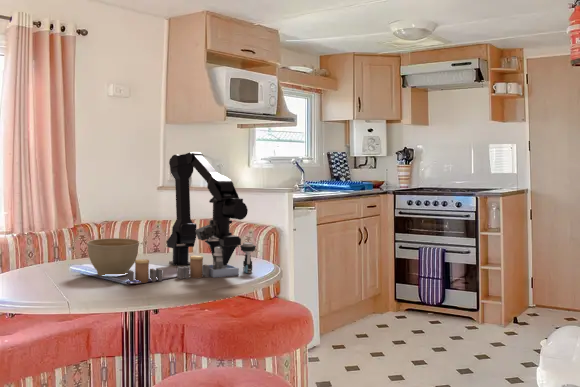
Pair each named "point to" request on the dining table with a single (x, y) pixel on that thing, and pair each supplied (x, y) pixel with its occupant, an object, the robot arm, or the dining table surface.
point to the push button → (247, 256)
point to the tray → (223, 271)
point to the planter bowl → (112, 255)
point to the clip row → (180, 273)
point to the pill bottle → (218, 259)
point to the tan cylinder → (196, 266)
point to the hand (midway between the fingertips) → (220, 263)
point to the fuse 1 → (142, 270)
